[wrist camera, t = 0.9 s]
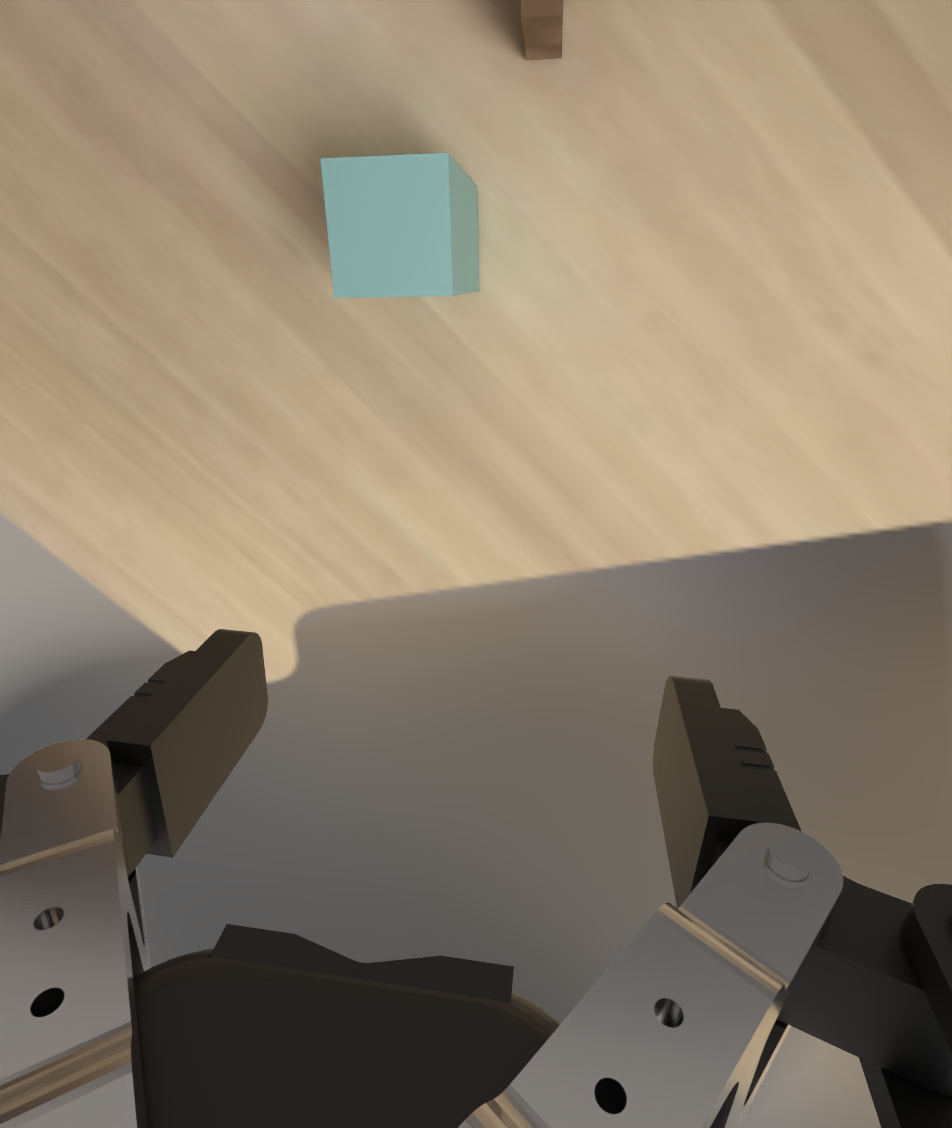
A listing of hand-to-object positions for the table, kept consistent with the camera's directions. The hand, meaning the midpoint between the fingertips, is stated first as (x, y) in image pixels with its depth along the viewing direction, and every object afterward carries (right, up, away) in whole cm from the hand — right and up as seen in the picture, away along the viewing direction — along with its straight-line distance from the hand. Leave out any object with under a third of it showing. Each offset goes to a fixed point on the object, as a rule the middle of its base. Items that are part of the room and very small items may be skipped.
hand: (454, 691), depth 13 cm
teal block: (-2, +18, +19) cm, 26 cm away
